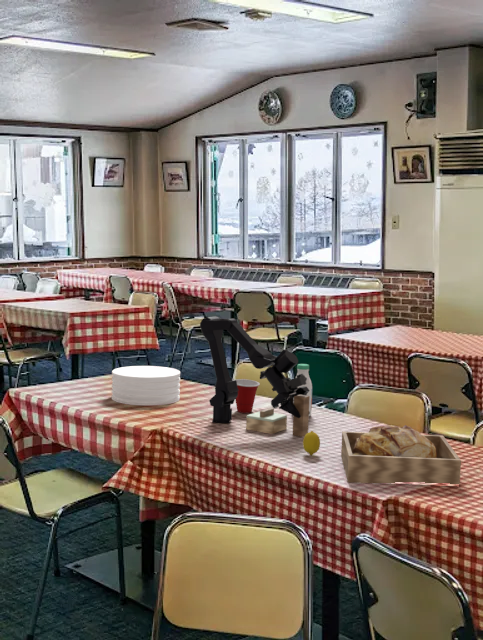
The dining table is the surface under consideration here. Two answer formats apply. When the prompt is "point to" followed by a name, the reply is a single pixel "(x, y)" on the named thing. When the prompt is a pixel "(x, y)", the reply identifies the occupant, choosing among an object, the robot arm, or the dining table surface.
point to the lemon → (311, 443)
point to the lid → (267, 415)
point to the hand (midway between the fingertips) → (304, 415)
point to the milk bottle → (304, 370)
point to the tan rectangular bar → (303, 408)
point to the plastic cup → (246, 395)
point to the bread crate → (400, 464)
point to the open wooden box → (266, 425)
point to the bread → (394, 443)
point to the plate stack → (145, 385)
